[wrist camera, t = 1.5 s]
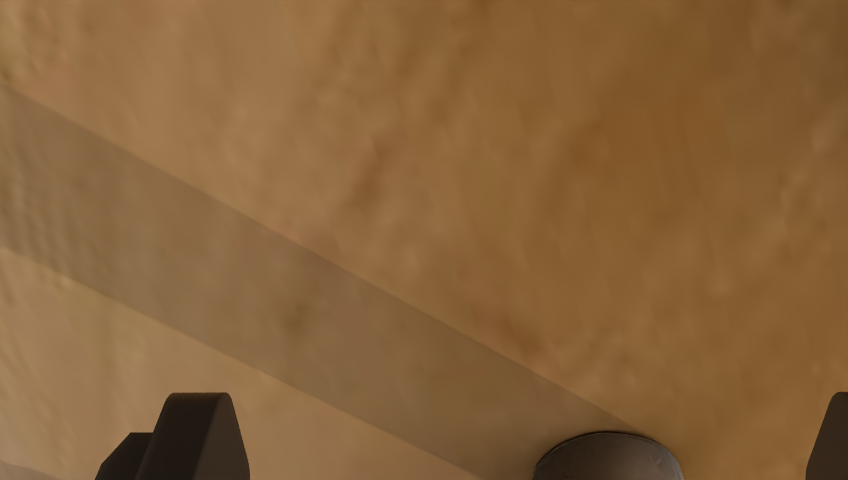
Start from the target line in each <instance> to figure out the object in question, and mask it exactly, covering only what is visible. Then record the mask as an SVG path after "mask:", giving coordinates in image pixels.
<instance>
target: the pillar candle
mask: <svg viewBox="0 0 848 480" xmlns="http://www.w3.org/2000/svg"><path fill="white" fill-rule="evenodd" d="M535 470H536V472H535V477H534V480H683V475H682V473H681V470H680V466H679V463H678V461H677V460H676V458H675V457H674V456H673V455H672V454H671V453H670V452H669V451H668V450H667V449H666V448H665V447H663V446H661V445H660V444H658V443H656V442H654V441H652V440H650V439H646V438H643V437H639V436H633V435H627V434H618V433H595V434H589V435H585V436H582V437H579V438H574V439H572V440H571V441H568V442H565V443H564V444H562V445H560V446H558V447H556V448H555V449H553V450H552V452H550V453H549V454H548V455H547V456H546V457H544V458H543V459H542V460H541V461H540V462H539V464H538V465H537V467H536V469H535Z"/></svg>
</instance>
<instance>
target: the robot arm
mask: <svg viewBox="0 0 848 480" xmlns="http://www.w3.org/2000/svg"><path fill="white" fill-rule="evenodd" d="M95 480H250V470H249V463H248V459H247V455H246V451H245V448H244V444H243V440H242V436H241V433H240V429H239V425H238V421H237V417H236V414H235V410H234V406H233V402H232V399H231V397H230V395H229V394H228V393H172V394H170V395H169V397H168V398H167V400H166V401H165V404H164V406H163V408H162V411H161V413H160V416H159V419H158V421H157V424H156V426H155V429H154V431H153V433H130V434H129V435H128V436H127V437H126V438H125V439H124V440H123V441H122V443H121V444H120V445H119V446H118V447H117V448H116V449H115V450H114V451H113V452H112V453H111V454H110V456H109V457H108V458H107V459H106V460H105V461H104V462H103V463H102V464H101V467H100V469H99V471H98V474H97V476H96V478H95ZM806 480H848V392H838V393H836V394H835V395H834V396H833V397H832V399H831V401H830V403H829V406H828V409H827V412H826V414H825V417H824V420H823V423H822V425H821V428H820V431H819V434H818V436H817V439H816V442H815V445H814V448H813V450H812V453H811V456H810V459H809V461H808V465H807V469H806Z"/></svg>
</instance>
